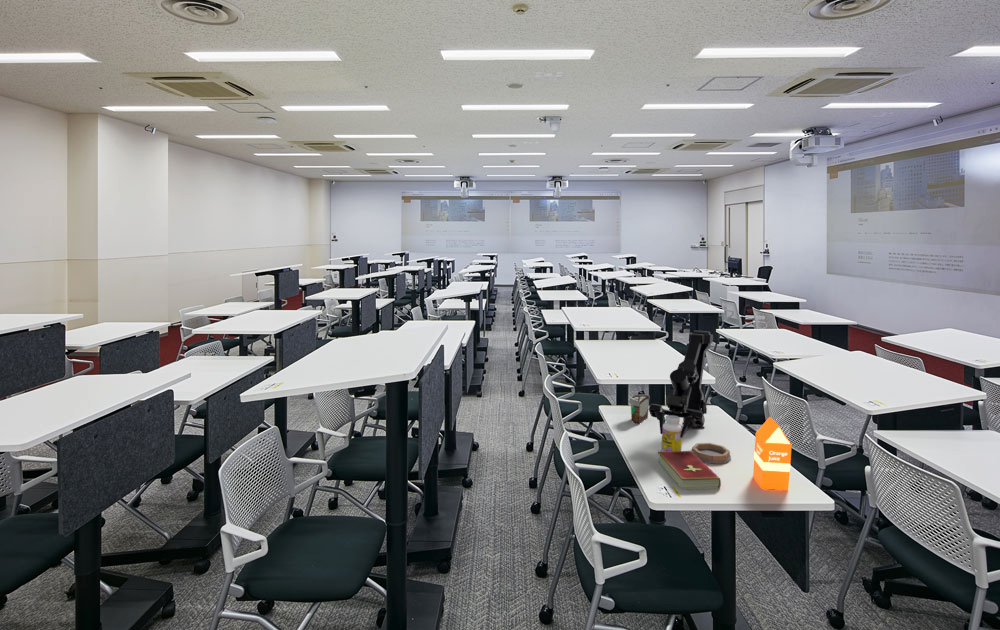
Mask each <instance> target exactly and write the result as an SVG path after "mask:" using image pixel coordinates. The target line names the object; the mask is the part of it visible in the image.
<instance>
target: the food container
mask: <svg viewBox="0 0 1000 630" xmlns="http://www.w3.org/2000/svg"><path fill="white" fill-rule="evenodd" d="M650 398H651V397H650V394H643V393H640V394H633V395H631V396H630V398H629V404H630V410H631V411H630V413H631V422H632V421H633V422H632V423H634V424H636V423H637V424H636V425H641V424H642V423H643V422H645V421H646V420H647V419H648V417H649V406H650V405H649V404H650ZM644 420H645V421H644ZM640 423H641V424H640Z"/></svg>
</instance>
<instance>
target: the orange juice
mask: <svg viewBox="0 0 1000 630" xmlns="http://www.w3.org/2000/svg"><path fill="white" fill-rule="evenodd" d="M754 441H755V442H754V452H753V470H752V471H753V472H752V477H754V478H753V479H754V481H755V483H757V485H758V484H759V485H758V486H759V488H760V489H761V490H767V489H775V490H774V491H782V490H786V491H785V492H789V488H790V485H789V483H790V472H791V459H792V458H791V457H792V445H793V444H792V443H791V442H790V440H789V439H788V438H787V436H786V434H785V433H784V432H783V430H782V429H781V427H780V425H779V423H777V422H776V421H775V420H774V419H773V418H772V417H771V416H769V417H768V418H767V419H766V421H765V422H763V424H762V425H761V426H760V428H758V430H757V431H756V432H755V439H754Z"/></svg>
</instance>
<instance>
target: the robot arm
mask: <svg viewBox="0 0 1000 630" xmlns="http://www.w3.org/2000/svg"><path fill="white" fill-rule="evenodd" d="M713 341H714V334H711V331H707V330H693V331H692V332H689V333H688V346H687V348H686V349H687V350H686V352H685V356H684V359H683V361H681V362H679V364H678V365H677V368H676V369H674V370H672V372H671V373H670V374H669V379H670V383H671V386H672V388H673V393H672V394H668V395H667V399H666V405H667V406H666V407H667V408H668V409H666V408H663V406H662V404H657V403H651V404H650V405H649V407H648V413H649V414H650V416H651V417H652V418H656V419H657V420H658V422H659V423H658V424H659V431H660V432H659V433H660V434H661V435H662V430H663V424H664V423H666V416H668V415H674V416H678V417H679V418H680V419H681V418H682V419H683V421H682V424H681V425H683V426H682V431H681V436H680V437H681V438H682V439H683V438H684V436H685V435H686V434H687V433H688V432H689V431H690V430H692V429H693V430H694V429H705V421H706V420H705V415H706V414H707V411H708V409H707V407H708V406H707V403H706V399H705V395H704V393H703V390H702V383H703V382H702V381H703V375H704V366H705V358H706V353H707V352H708V351H709V350H710V349H711V344H713Z"/></svg>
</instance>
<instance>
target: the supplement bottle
mask: <svg viewBox="0 0 1000 630" xmlns="http://www.w3.org/2000/svg"><path fill="white" fill-rule="evenodd" d="M665 420H666V421H665V423H664V424H663V430H662V434H661V435H662V436H661V452H666V451H682V444H683V443H682V440H683V437H682V438H681V437H680V436H681V431H682V429H683V426H682V424H680V420H681V417H678V416H674V415H665Z"/></svg>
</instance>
